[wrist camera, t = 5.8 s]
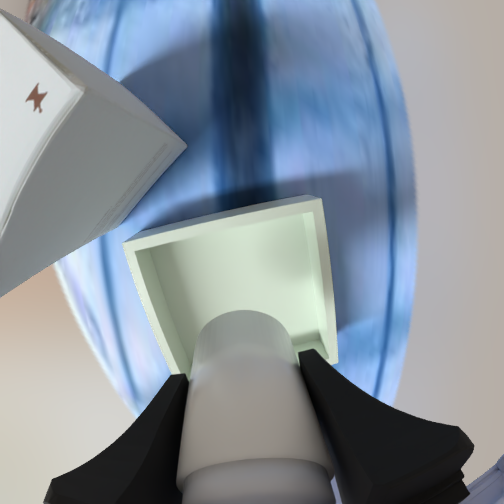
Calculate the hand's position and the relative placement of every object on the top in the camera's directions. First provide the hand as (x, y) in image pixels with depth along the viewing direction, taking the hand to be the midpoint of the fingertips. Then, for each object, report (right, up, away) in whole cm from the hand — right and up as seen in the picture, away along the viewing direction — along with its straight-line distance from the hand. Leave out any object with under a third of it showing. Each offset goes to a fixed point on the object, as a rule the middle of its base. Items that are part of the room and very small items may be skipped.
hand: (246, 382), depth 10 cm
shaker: (0, +1, +2) cm, 2 cm away
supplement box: (-9, +12, +6) cm, 15 cm away
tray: (-1, +2, +8) cm, 9 cm away
